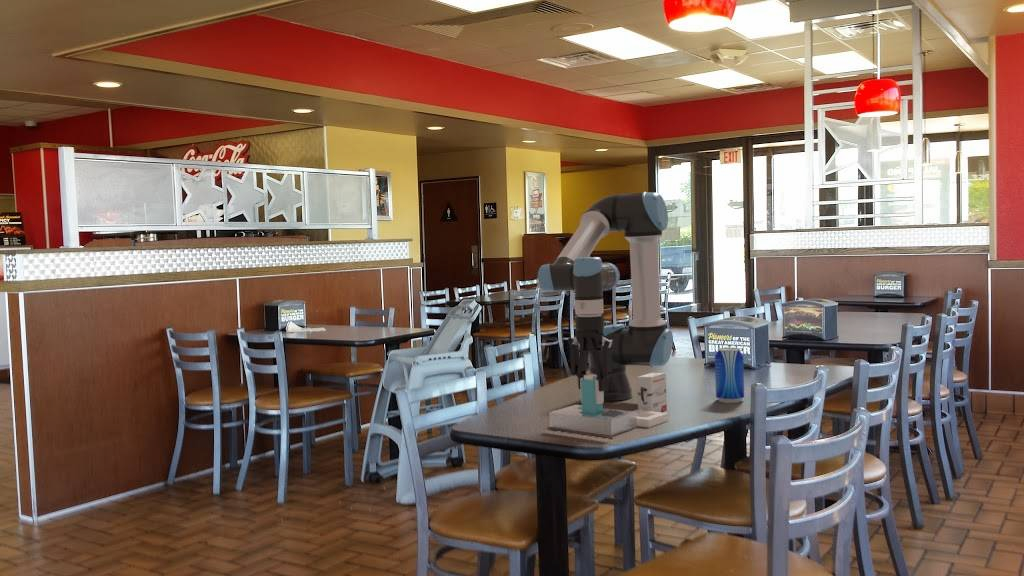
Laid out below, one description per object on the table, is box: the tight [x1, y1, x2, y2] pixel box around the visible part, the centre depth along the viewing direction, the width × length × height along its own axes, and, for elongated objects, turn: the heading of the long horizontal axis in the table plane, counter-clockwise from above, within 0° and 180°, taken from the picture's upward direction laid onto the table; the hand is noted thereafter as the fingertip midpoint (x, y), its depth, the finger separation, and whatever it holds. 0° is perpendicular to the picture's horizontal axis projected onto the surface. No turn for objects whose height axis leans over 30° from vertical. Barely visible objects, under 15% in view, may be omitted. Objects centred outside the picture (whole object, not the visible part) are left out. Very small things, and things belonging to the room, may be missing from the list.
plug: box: [580, 373, 604, 415], centre depth 232 cm, size 4×4×13 cm
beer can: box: [714, 347, 745, 404], centre depth 266 cm, size 8×8×16 cm
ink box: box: [636, 372, 668, 413], centre depth 249 cm, size 9×5×12 cm, turn 141°
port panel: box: [548, 404, 638, 440], centre depth 233 cm, size 20×12×6 cm, turn 49°
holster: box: [632, 409, 669, 429], centre depth 237 cm, size 10×10×3 cm
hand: (592, 402), depth 232 cm, fingers open, 4 cm apart
